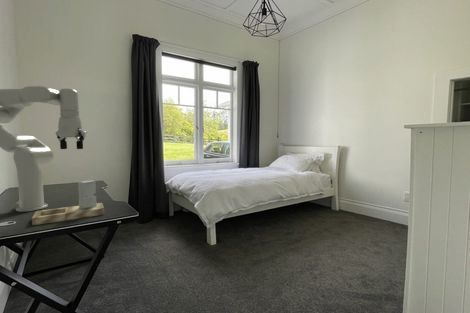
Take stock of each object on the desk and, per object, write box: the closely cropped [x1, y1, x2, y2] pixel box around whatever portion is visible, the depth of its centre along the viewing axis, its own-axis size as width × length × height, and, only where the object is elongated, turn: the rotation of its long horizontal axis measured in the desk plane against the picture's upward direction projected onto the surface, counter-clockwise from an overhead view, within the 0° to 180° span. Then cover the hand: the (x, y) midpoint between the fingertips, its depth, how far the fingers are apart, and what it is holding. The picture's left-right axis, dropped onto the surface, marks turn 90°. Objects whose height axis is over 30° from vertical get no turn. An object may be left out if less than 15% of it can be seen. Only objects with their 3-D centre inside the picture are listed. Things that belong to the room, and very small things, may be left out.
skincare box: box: [77, 179, 98, 208], centre depth 114 cm, size 6×4×12 cm
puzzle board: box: [31, 202, 105, 226], centre depth 110 cm, size 26×12×3 cm, turn 123°
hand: (71, 149), depth 121 cm, fingers open, 9 cm apart
